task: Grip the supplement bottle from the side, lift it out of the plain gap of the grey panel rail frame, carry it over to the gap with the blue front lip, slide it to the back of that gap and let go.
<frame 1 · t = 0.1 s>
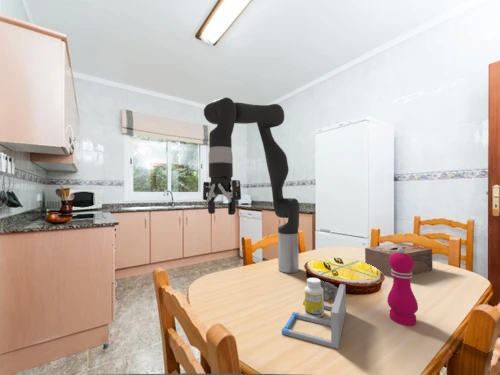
hand: (221, 214, 75), 29 cm above the table, tool pointing down, fingers open, 8 cm apart
grey panel rail frame: (323, 323, 64), on the table
pepper mill: (402, 320, 66), on the table
tissue box cover: (398, 270, 109), on the table
egg carton: (323, 294, 84), on the table
supplement bottle: (314, 314, 70), resting in grey panel rail frame
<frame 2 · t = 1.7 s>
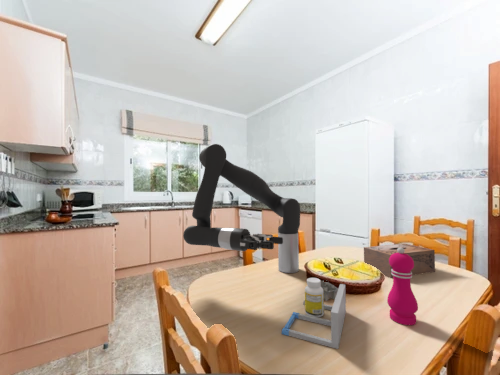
hand: (278, 243, 75), 20 cm above the table, tool horizontal, fingers open, 8 cm apart
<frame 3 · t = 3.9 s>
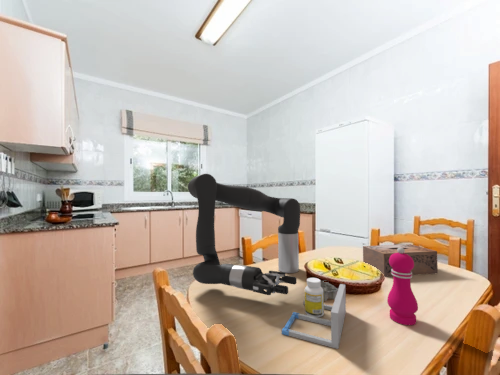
hand: (292, 285, 73), 7 cm above the table, tool horizontal, fingers open, 8 cm apart
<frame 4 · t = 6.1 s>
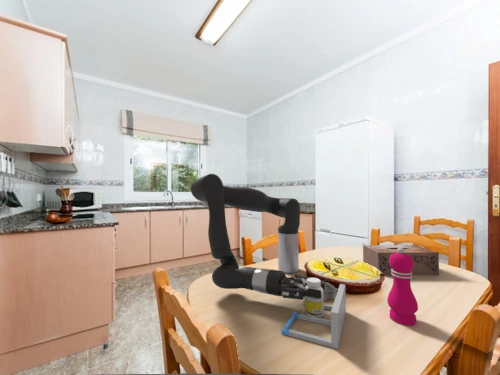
hand: (322, 290, 69), 7 cm above the table, tool horizontal, fingers closed on supplement bottle, 5 cm apart
supplement bottle: (314, 314, 70), resting in grey panel rail frame, touching gripper
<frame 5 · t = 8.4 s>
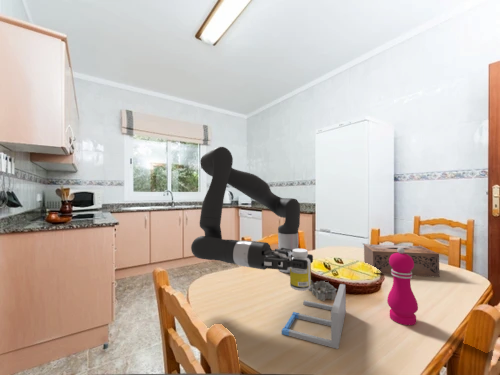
hand: (309, 261, 62), 18 cm above the table, tool horizontal, fingers closed on supplement bottle, 5 cm apart
supplement bottle: (300, 287, 63), point 10 cm above the table, touching gripper
when the fingers open (8 cm above the table, at t = 11.1 s): supplement bottle stays where it is, resting in grey panel rail frame.
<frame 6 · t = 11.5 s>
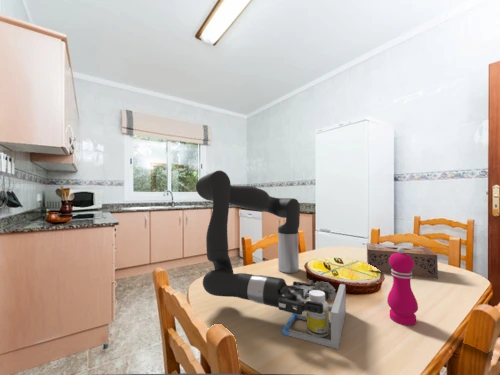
hand: (326, 301, 60), 8 cm above the table, tool horizontal, fingers open, 8 cm apart
supplement bottle: (318, 332, 61), resting in grey panel rail frame
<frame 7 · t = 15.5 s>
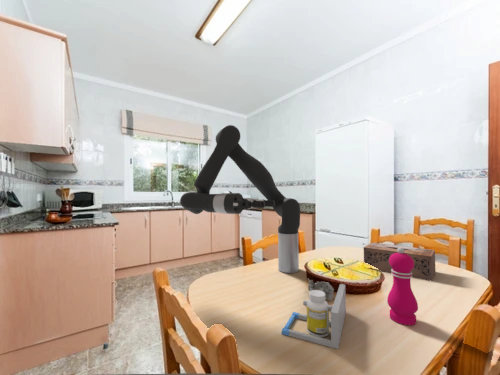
hand: (269, 203, 79), 32 cm above the table, tool horizontal, fingers open, 8 cm apart
at the end: supplement bottle inside the target area on the grey panel rail frame (0.4 cm from its centre), point 0.0 cm above the grey panel rail frame's base; supplement bottle tilted 0°; the gripper is holding nothing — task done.
